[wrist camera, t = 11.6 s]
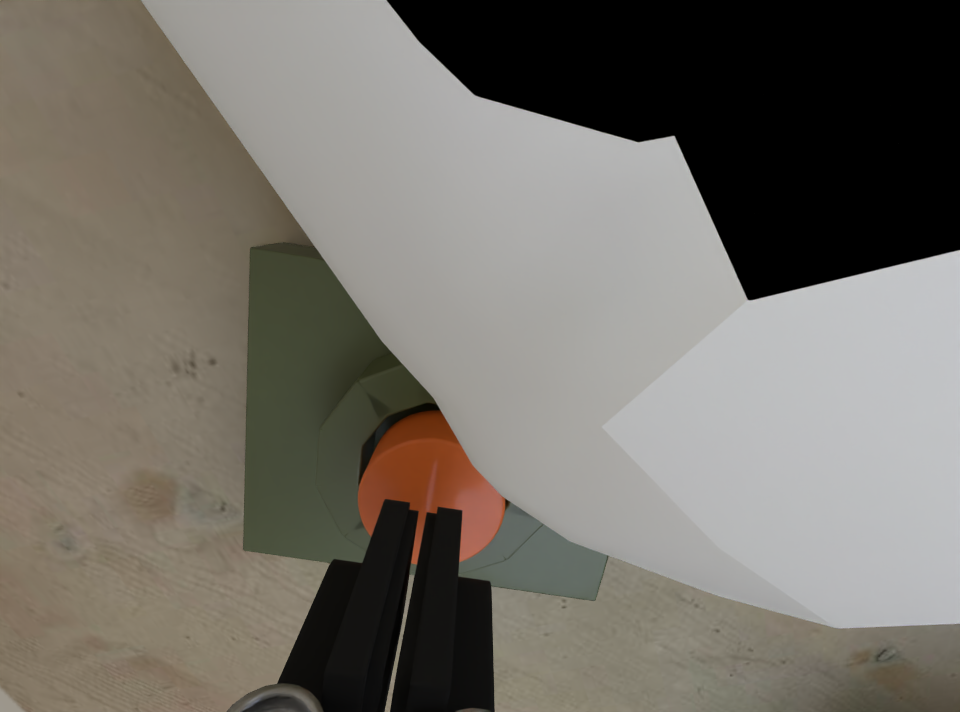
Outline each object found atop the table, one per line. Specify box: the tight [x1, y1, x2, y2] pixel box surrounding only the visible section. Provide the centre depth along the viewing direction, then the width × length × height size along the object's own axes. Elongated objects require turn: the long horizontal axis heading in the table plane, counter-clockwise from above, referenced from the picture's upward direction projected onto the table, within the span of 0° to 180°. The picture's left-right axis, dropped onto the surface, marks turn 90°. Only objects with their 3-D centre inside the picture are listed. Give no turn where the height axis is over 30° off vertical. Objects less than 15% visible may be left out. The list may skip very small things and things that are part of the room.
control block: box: [243, 242, 608, 601], centre depth 15 cm, size 12×10×4 cm
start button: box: [358, 410, 505, 564], centre depth 12 cm, size 4×4×2 cm
